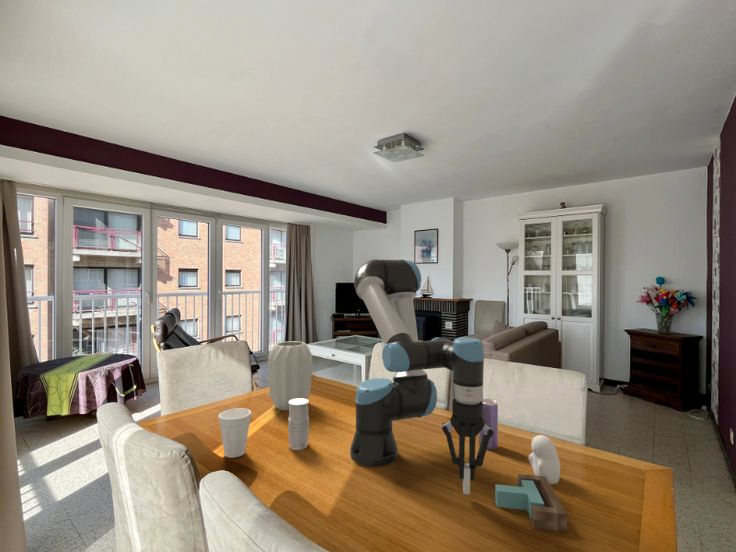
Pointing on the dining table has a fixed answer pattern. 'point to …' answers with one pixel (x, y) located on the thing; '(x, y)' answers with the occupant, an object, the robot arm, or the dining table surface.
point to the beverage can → (490, 422)
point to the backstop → (546, 506)
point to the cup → (234, 431)
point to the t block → (518, 496)
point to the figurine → (545, 459)
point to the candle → (298, 423)
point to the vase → (289, 372)
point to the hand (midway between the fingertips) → (466, 491)
